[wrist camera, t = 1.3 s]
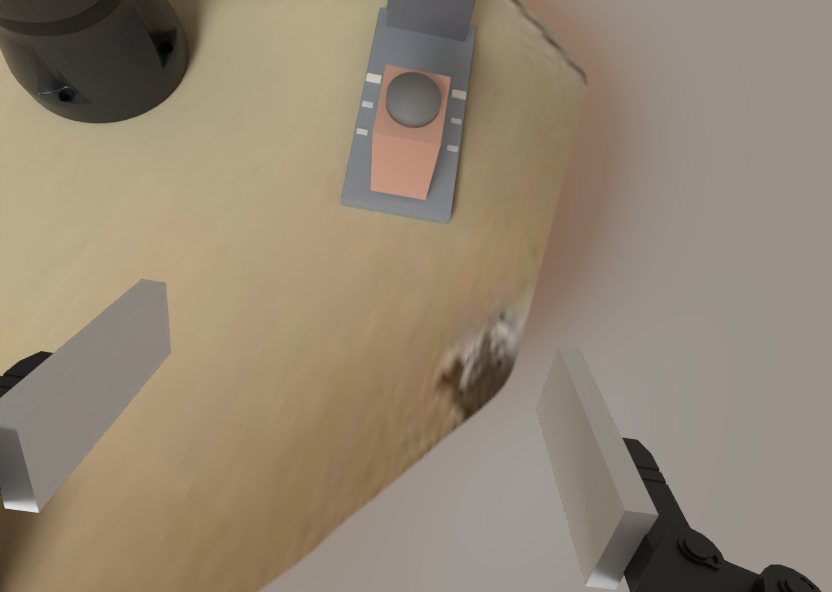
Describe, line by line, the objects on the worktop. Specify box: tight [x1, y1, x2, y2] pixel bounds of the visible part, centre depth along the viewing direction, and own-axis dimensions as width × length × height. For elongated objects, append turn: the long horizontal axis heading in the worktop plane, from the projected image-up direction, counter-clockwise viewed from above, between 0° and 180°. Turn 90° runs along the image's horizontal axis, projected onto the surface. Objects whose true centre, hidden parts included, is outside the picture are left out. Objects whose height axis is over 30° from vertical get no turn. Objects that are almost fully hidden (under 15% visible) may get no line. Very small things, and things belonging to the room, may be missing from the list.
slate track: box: [341, 0, 476, 224], centre depth 46 cm, size 22×10×8 cm, turn 172°
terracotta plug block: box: [371, 65, 451, 200], centre depth 41 cm, size 6×5×10 cm
